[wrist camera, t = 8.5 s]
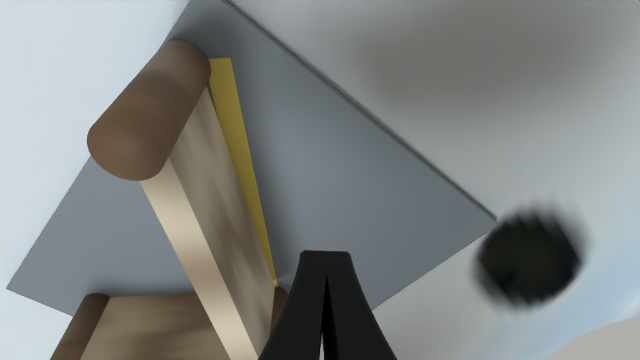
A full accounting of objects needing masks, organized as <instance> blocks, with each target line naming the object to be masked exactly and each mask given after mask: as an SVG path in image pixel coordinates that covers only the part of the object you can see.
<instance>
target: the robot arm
mask: <svg viewBox="0 0 640 360" xmlns="http://www.w3.org/2000/svg"><path fill="white" fill-rule="evenodd" d="M321 337H322V338H323V350H324V360H397V358H396V357H395V355H394V353H393V351H392V350H391V348H390V346H389V344H388V342H387V341H386V339H385V337H384V335H383V333H382V331H381V329H380V327H379V325H378V323H377V321H376V320H375V317H374V315H373V313H372V311H371V309H370V307H369V304H368V302H367V300H366V298H365V295H364V293H363V291H362V288H361V286H360V283H359V280H358V278H357V275H356V272H355V269H354V266H353V262H352V258H351V254H349V253H348V252H347V251H318V250H304V251H302V252H301V253H300V259H299V264H298V268H297V272H296V275H295V278H294V281H293V284H292V287H291V290H290V293H289V295H288V298H287V300H286V303H285V305H284V308H283V310H282V312H281V315H280V317H279V319H278V321H277V323H276V325H275V327H274V329H273V331H272V333H271V335H270V338H269V340H268V342H267V343H266V345H265V347H264V349H263V351H262V353H261V355H260V356H259V358H258V360H319V358H320V347H321Z"/></svg>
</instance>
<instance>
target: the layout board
mask: <svg viewBox="0 0 640 360" xmlns="http://www.w3.org/2000/svg"><path fill="white" fill-rule="evenodd" d="M174 40H183V41H188V42H190V43H193V44H194V45H196V46H197V47H199V48H200V49H201V50H202V51H203V52H204V53H205V55H206V56H207V58H208V60H209V62H210V66H211V75H210V79H209V81H208V83H207V85H206V86H207V88H208V91H209V94H210V97H211V100H212V103H213V106H214V109H215V112H216V115H217V118H218V121H219V124H220V126H221V129H222V132H223V135H224V138H225V141H226V144H227V147H228V150H229V153H230V156H231V159H232V162H233V164H234V167H235V170H236V173H237V176H238V179H239V182H240V185H241V188H242V191H243V194H244V197H245V200H246V203H247V205H248V208H249V211H250V214H251V217H252V220H253V223H254V226H255V229H256V232H257V235H258V238H259V241H260V243H261V246H262V249H263V252H264V255H265V258H266V261H267V264H268V267H269V270H270V273H271V276H272V279H273V281H274V284H275V287H278V286H280V287H282V288H283V289H285V290H286V291H287V293H288V295H289V293H290V290H291V287H292V284H293V281H294V278H295V275H296V272H297V268H298V264H299V259H300V253H301V252H302V251H304V250H318V251H347V252H348V253H349V254H351V258H352V262H353V266H354V269H355V272H356V275H357V278H358V280H359V283H360V286H361V288H362V291H363V293H364V295H365V298H366V300H367V302H368V304H369V307H370V309H371V310H373V309H374V308H376V307H377V306H379V305H380V304H382V303H383V302H385V301H386V300H387V299H389V298H390V297H392V296H393V295H395V294H396V293H398V292H399V291H401V290H402V289H404V288H405V287H407V286H408V285H410V284H411V283H413V282H414V281H416V280H417V279H419V278H420V277H422V276H423V275H425V274H426V273H427V272H429V271H430V270H432V269H433V268H435V267H436V266H438V265H439V264H441V263H442V262H444V261H445V260H447V259H448V258H450V257H451V256H453V255H454V254H456V253H457V252H459V251H460V250H462V249H463V248H464V247H466V246H467V245H469V244H470V243H472V242H473V241H475V240H476V239H478V238H479V237H481V236H482V235H484V234H485V233H487V232H488V231H490V230H491V229H493V228H494V227H496V226H497V225H498V223H497V221H496V219H495V218H494V217H492V216H491V215H490V214H489V213H487V212H486V211H485V210H484V209H482V208H481V207H480V206H479V205H478V204H476V203H475V202H474V201H473V200H471V199H470V198H469V197H468V196H466V195H465V194H464V193H463V192H462V191H460V190H459V189H458V188H457V187H455V186H454V185H453V184H452V183H450V182H449V181H448V180H447V179H446V178H444V177H443V176H442V175H441V174H439V173H438V172H437V171H436V170H434V169H433V168H432V167H431V166H429V165H428V164H427V163H426V162H425V161H423V160H422V159H421V158H420V157H418V156H417V155H416V154H415V153H413V152H412V151H411V150H410V149H409V148H407V147H406V146H405V145H404V144H402V143H401V142H400V141H399V140H397V139H396V138H395V137H394V136H393V135H391V134H390V133H389V132H388V131H386V130H385V129H384V128H383V127H381V126H380V125H379V124H378V123H377V122H375V121H374V120H373V119H372V118H370V117H369V116H368V115H367V114H365V113H364V112H363V111H362V110H361V109H359V108H358V107H357V106H356V105H354V104H353V103H352V102H351V101H349V100H348V99H347V98H346V97H345V96H343V95H342V94H341V93H340V92H338V91H337V90H336V89H335V88H333V87H332V86H331V85H330V84H329V83H327V82H326V81H325V80H324V79H322V78H321V77H320V76H319V75H317V74H316V73H315V72H314V71H312V70H311V69H310V68H309V67H308V66H306V65H305V64H304V63H303V62H301V61H300V60H299V59H298V58H296V57H295V56H294V55H293V54H292V53H290V52H289V51H288V50H287V49H285V48H284V47H283V46H282V45H280V44H279V43H278V42H277V41H276V40H274V39H273V38H272V37H271V36H269V35H268V34H267V33H266V32H264V31H263V30H262V29H261V28H260V27H258V26H257V25H256V24H255V23H253V22H252V21H251V20H250V19H248V18H247V17H246V16H245V15H244V14H242V13H241V12H240V11H239V10H237V9H236V8H235V7H234V6H232V5H231V4H230V3H229V2H228V1H226V0H190V2H189V3H188V5H187V7H186V8H185V10H184V11H183V13H182V14H181V16H180V17H179V19H178V21H177V22H176V24H175V25H174V27H173V28H172V30H171V31H170V33H169V35H168V36H167V38H166V39H165V41H164V42H163V44H162V46H163V45H164V44H166V43H168V42H170V41H174ZM162 46H161V47H162ZM161 47H160V48H161ZM158 51H159V50H158ZM6 289H8V290H10V291H12V292H15V293H17V294H20V295H22V296H25V297H27V298H29V299H32V300H34V301H37V302H39V303H42V304H44V305H46V306H49V307H51V308H54V309H56V310H59V311H61V312H63V313H66V314H68V315H71V316H73V317H74V315H75V313H76V311H77V309H78V308H79V306H80V304H81V302H82V300H83V299H84V297H85V296H86V295H88V294H93V293H99V294H104V295H107V296H109V297H124V296H145V295H165V294H185V293H196V291H195V289H194V287H193V285H192V283H191V281H190V279H189V277H188V275H187V273H186V271H185V270H184V268H183V266H182V264H181V262H180V260H179V258H178V256H177V254H176V252H175V250H174V248H173V246H172V244H171V242H170V240H169V238H168V236H167V234H166V232H165V231H164V229H163V227H162V225H161V223H160V221H159V219H158V217H157V215H156V213H155V211H154V209H153V207H152V205H151V203H150V201H149V199H148V197H147V195H146V193H145V192H144V190H143V188H142V186H141V184H140V182H139V181H130V180H125V179H121V178H118V177H116V176H114V175H112V174H110V173H108V172H107V171H105V170H104V169H103V168H101V167H100V166H99V165H98V164H97V163H96V161H95V160H94V159H93V157H92V156H90V158H89V159H88V161H87V162H86V164H85V166H84V167H83V169H82V170H81V172H80V173H79V175H78V176H77V178H76V180H75V181H74V183H73V184H72V186H71V187H70V189H69V191H68V192H67V194H66V195H65V197H64V198H63V200H62V201H61V203H60V205H59V206H58V208H57V209H56V211H55V212H54V214H53V215H52V217H51V219H50V220H49V222H48V223H47V225H46V226H45V228H44V229H43V231H42V233H41V234H40V236H39V237H38V239H37V240H36V242H35V244H34V245H33V247H32V248H31V250H30V251H29V253H28V254H27V256H26V258H25V259H24V261H23V262H22V264H21V265H20V267H19V268H18V270H17V272H16V273H15V275H14V276H13V278H12V279H11V281H10V283H9V284H8V286H7V287H6ZM322 343H323V338H322V337H321V344H322Z"/></svg>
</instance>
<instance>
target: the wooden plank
mask: <svg viewBox="0 0 640 360" xmlns="http://www.w3.org/2000/svg"><path fill="white" fill-rule="evenodd" d="M210 75H211V66H210V62H209V60H208V58H207V56H206V55H205V53H204V52H203V51H202V50H201V49H200V48H199V47H197V46H196V45H194V44H193V43H190V42H188V41H183V40H174V41H170V42H168V43H166V44H164V45H163V46H162V47H161V48H160V49H159V51H158V52H157V53H156V54H155V55H154V56H153V57H152V59H151V60H150V61H149V62H148V63H147V64H146V65H145V67H144V68H143V69H142V70H141V71H140V72H139V73H138V74H137V76H136V77H135V78H134V79H133V80H132V81H131V82H130V84H129V85H128V86H127V87H126V88H125V89H124V90H123V92H122V93H121V94H120V95H119V96H118V97H117V98H116V99H115V101H114V102H113V103H112V104H111V105H110V106H109V107H108V109H107V110H106V111H105V112H104V113H103V114H102V115H101V117H100V118H99V119H98V120H97V121H96V122H95V123H94V124H93V126H92V127H91V128H90V130H89V132H88V135H87V145H88V149H89V152H90V154H91V156H92V157H93V159H94V160H95V161H96V163H97V164H98V165H99V166H100V167H101V168H103V169H104V170H105V171H107V172H108V173H110V174H112V175H114V176H116V177H118V178H121V179H125V180H130V181H139V182H140V184H141V186H142V188H143V190H144V192H145V193H146V195H147V197H148V199H149V201H150V203H151V205H152V207H153V209H154V211H155V213H156V215H157V217H158V219H159V221H160V223H161V225H162V227H163V229H164V231H165V232H166V234H167V236H168V238H169V240H170V242H171V244H172V246H173V248H174V250H175V252H176V254H177V256H178V258H179V260H180V262H181V264H182V266H183V268H184V270H185V271H186V273H187V275H188V277H189V279H190V281H191V283H192V285H193V287H194V289H195V291H196V293H197V295H198V297H199V299H200V301H201V303H202V305H203V307H204V309H205V310H206V312H207V314H208V316H209V318H210V320H211V322H212V324H213V326H214V328H215V330H216V332H217V334H218V336H219V338H220V340H221V342H222V344H223V346H224V348H225V350H226V351H227V353H228V355H229V357H230V359H231V360H258V358H259V356H260V355H261V353H262V351H263V349H264V347H265V345H266V343H267V342H268V340H269V336H270V327H271V318H272V309H273V300H274V291H275V284H274V281H273V279H272V276H271V273H270V270H269V267H268V264H267V261H266V258H265V255H264V252H263V249H262V246H261V243H260V241H259V238H258V235H257V232H256V229H255V226H254V223H253V220H252V217H251V214H250V211H249V208H248V205H247V203H246V200H245V197H244V194H243V191H242V188H241V185H240V182H239V179H238V176H237V173H236V170H235V167H234V164H233V162H232V159H231V156H230V153H229V150H228V147H227V144H226V141H225V138H224V135H223V132H222V129H221V126H220V124H219V121H218V118H217V115H216V112H215V109H214V106H213V103H212V100H211V97H210V94H209V91H208V88H207V86H206V85H207V83H208V81H209V79H210Z"/></svg>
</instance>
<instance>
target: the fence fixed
mask: <svg viewBox="0 0 640 360" xmlns="http://www.w3.org/2000/svg"><path fill="white" fill-rule="evenodd" d="M287 298H288V293H287V291H286V290H285V289H283V288H282V287H280V286H278V287H275V291H274V300H273V309H272V318H271V327H270V335H271V333H272V331H273V329H274V327H275V325H276V323H277V321H278V319H279V317H280V315H281V312H282V310H283V308H284V305H285V303H286V300H287ZM269 338H270V336H269ZM50 360H231V359H230V357H229V355H228V353H227V351H226V350H225V348H224V346H223V344H222V342H221V340H220V338H219V336H218V334H217V332H216V330H215V328H214V326H213V324H212V322H211V320H210V318H209V316H208V314H207V312H206V310H205V309H204V307H203V305H202V303H201V301H200V299H199V297H198V295H197V293H185V294H165V295H145V296H124V297H109V296H107V295H104V294H99V293H93V294H88V295H86V296H85V297H84V299H83V300H82V302H81V304H80V306H79V308H78V309H77V311H76V313H75V315H74V317H73V319H72V320H71V322H70V324H69V326H68V328H67V329H66V331H65V333H64V335H63V337H62V339H61V340H60V342H59V344H58V346H57V348H56V349H55V351H54V353H53V355H52V357H51V359H50Z"/></svg>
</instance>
